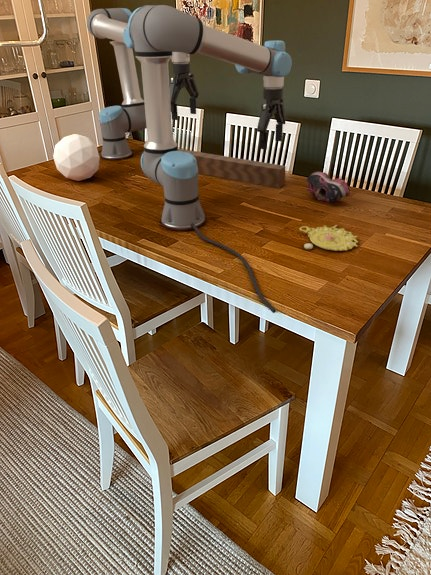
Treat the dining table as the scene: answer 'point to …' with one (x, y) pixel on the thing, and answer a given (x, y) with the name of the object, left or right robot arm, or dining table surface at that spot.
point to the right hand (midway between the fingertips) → (271, 144)
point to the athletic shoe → (327, 187)
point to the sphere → (76, 157)
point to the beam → (240, 169)
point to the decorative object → (330, 238)
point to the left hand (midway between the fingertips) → (184, 116)
